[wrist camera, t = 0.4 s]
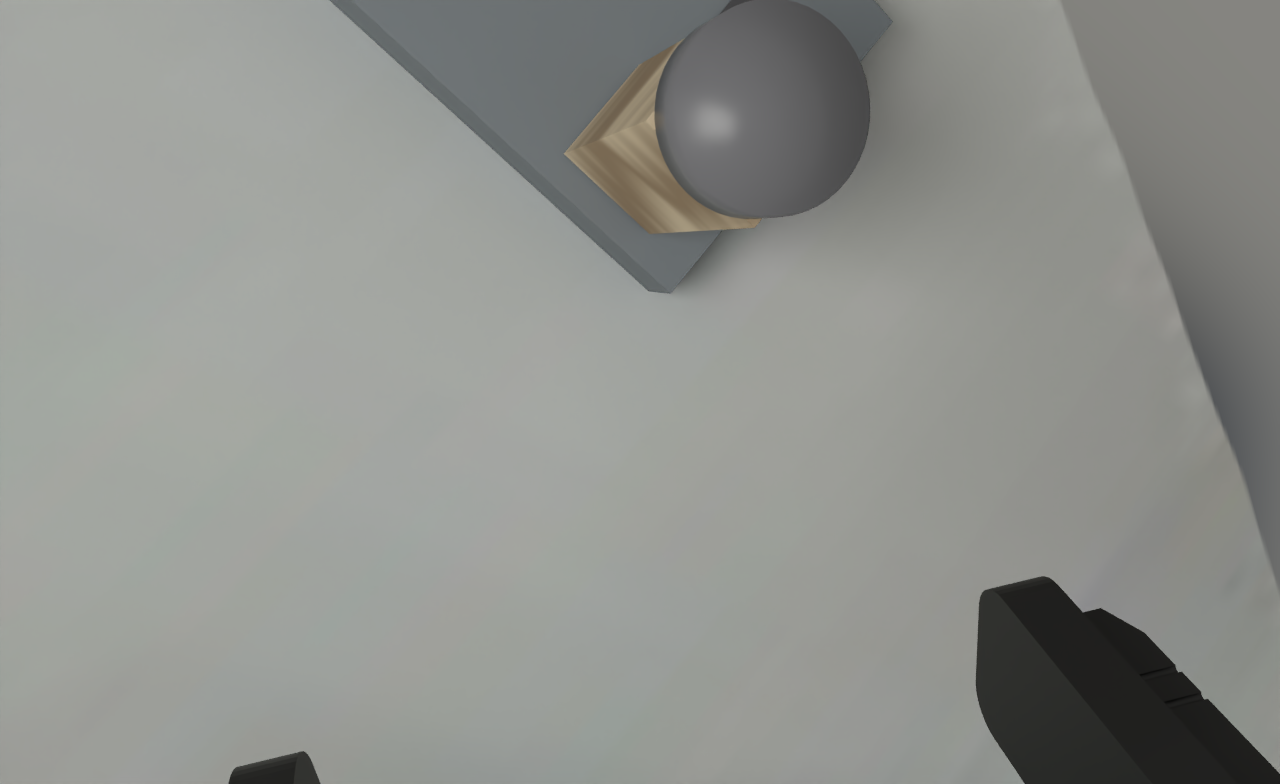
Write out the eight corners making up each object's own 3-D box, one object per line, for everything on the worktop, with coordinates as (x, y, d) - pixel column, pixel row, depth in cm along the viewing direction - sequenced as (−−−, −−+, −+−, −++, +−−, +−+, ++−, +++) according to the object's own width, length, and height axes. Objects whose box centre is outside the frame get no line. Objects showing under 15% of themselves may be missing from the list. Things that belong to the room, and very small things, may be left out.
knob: (538, 154, 34) (632, 113, 24) (637, 38, 35) (769, -49, 25) (650, 258, 36) (781, 260, 26) (743, 146, 36) (907, 105, 26)
